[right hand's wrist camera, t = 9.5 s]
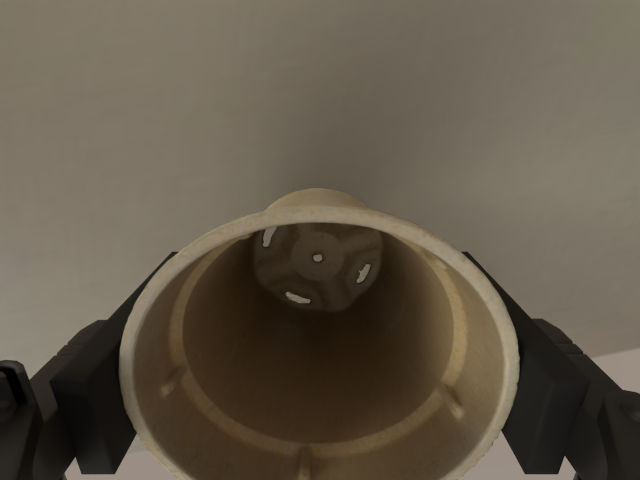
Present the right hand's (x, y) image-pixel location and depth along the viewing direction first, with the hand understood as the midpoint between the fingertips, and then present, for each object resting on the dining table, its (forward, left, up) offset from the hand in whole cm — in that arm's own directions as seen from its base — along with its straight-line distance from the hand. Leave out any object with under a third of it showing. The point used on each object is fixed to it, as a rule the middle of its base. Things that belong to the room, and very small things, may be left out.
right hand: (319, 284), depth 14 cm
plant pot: (0, 0, -3) cm, 3 cm away
